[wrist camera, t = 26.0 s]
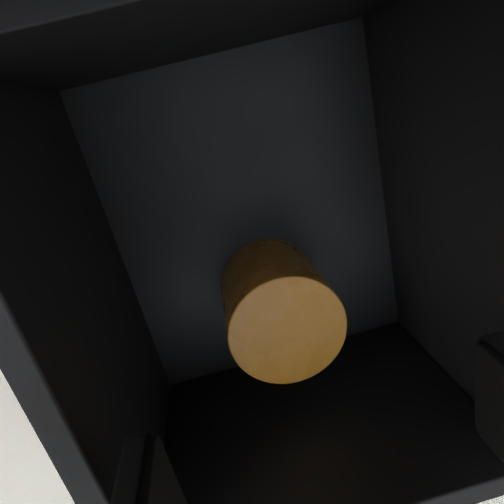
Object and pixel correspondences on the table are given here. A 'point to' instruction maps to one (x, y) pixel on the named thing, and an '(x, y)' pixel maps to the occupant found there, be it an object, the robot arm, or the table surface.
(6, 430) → the table surface
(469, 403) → the dark grey open box
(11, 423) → the table surface
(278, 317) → the wooden peg
